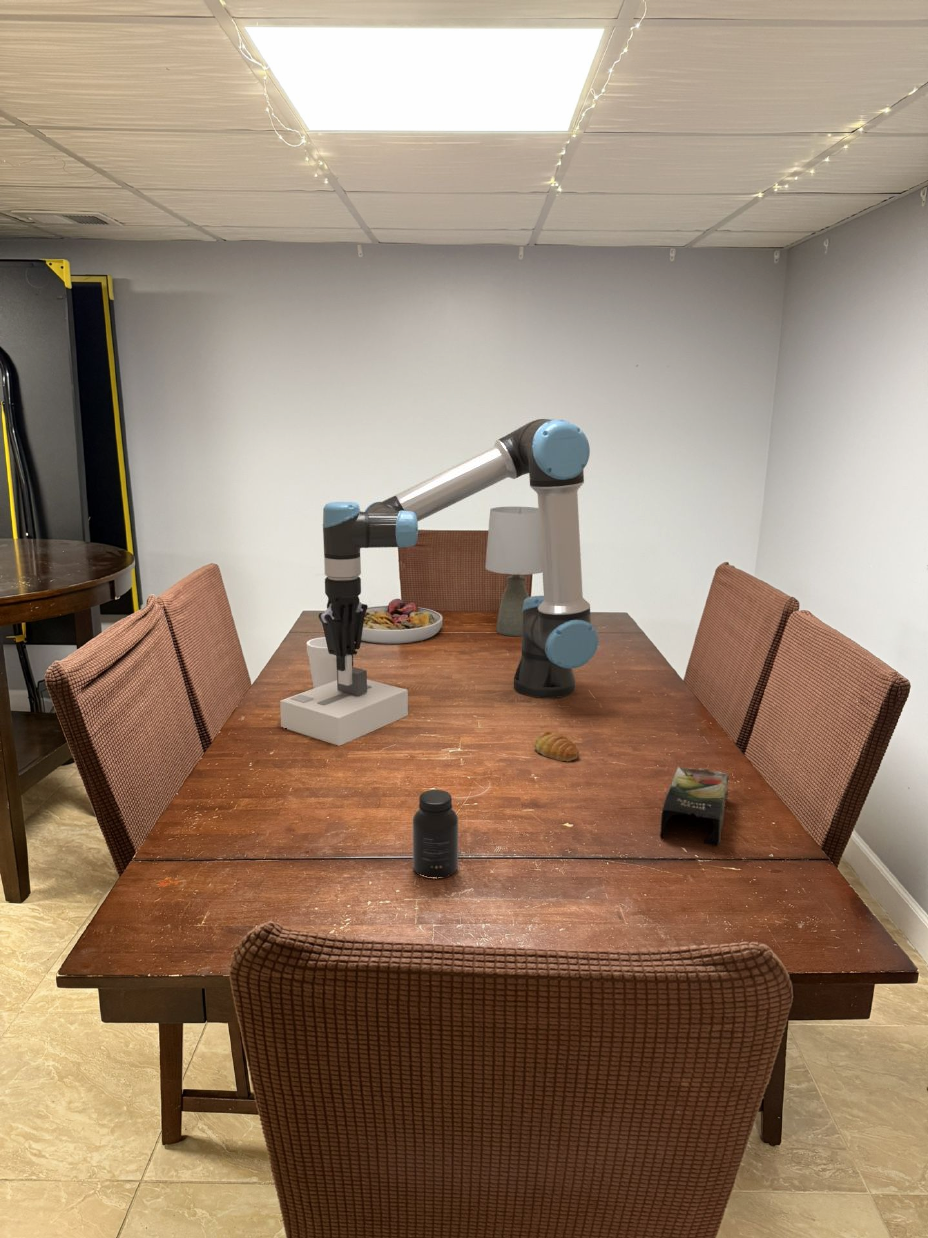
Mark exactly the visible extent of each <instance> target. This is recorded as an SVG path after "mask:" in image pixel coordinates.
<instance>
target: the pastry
mask: <svg viewBox="0 0 928 1238" xmlns="http://www.w3.org/2000/svg"><path fill="white" fill-rule="evenodd" d="M533 747H534V749H535V750H536V752H537V753H538V754H541V755H542V756H544V757H546V758H549V759H553V760H555V761H559V762H563V761H564V762H571V761H573V760H576V759H578V756H579V755H580V750H579V749H578V748H577V746H576V744H575V743H573V741H572V740H569V738H568V737H567V736H565V735H562V734H561V733H554V732H553V731H551V730H545V731H543V732H541V733H540V734H539V735H537V737H536V738H535V741H534V743H533Z"/></svg>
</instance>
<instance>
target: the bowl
mask: <svg viewBox="0 0 928 1238" xmlns="http://www.w3.org/2000/svg"><path fill="white" fill-rule="evenodd" d="M442 626H443V615H442V614H441V613H440V612H437V611H435V610H432V609H429V608H424V607H418V605H417V604H416V603H415V602H409V603H408V604H406V603H405V602H404V601H403V599H401V598H394V599H392V600H391V601H389V602H388V605H378V606H368V608H367V611H366V613H365V616H364V624H363V631H362V638H361V642H362V641H363V642H367V643H373V644H382V645H383V644H384V645H397V644H398V645H399V644H410V643H416V642H421V641H425V640H427V639H429V638H432V637H434V636H436V635H437V634H438V633H439V631H440V630H441V628H442Z"/></svg>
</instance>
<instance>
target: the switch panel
mask: <svg viewBox="0 0 928 1238" xmlns="http://www.w3.org/2000/svg"><path fill="white" fill-rule="evenodd" d="M408 694H409V690H408V689H405V688H401V687H398V686H393V685H391V684H387V683H382V682H378V681H374V680H371V679H367V692H366V693H364V694H361V695H359V696H356V695H353V694H349V693H346V692H342V691H338V690H337V680H336V681H334V682H331V683H328V684H325V685H322V686H320V687H317V688H314V687H313V688H311V689H309V690H306V691H303V692H300V693H298V694H295V695H292V696H289V697H286V698H284V699H281V700H279V705H280V706H279V707H280V710H279V711H280V727H281V728H282V727H283V729H285V728H287V729H286V730H288V731H292V732H295V733H298V734H301V735H304V736H307V737H310V738H314V739H317V740H320V741H322V742H326V743H329V744H332V745H335V746H338V747H340V746H342V745H345V744H347V743H349V742H351V741H354V740H356V739H358V738H360V737H363V736H365V735H367V734H369V733H372V732H375V731H376V730H378V729H380V728H383V727H385V726H387V725H389V724H392V723H395V722H396V721H398V720H401V719H404V718H405V717H408V715H409V699H408V698H409V695H408Z"/></svg>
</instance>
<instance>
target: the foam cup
mask: <svg viewBox="0 0 928 1238" xmlns="http://www.w3.org/2000/svg"><path fill="white" fill-rule="evenodd" d="M306 654H307V656H308V662H309V669H310V675H311V680H312V686H313V689H314V688H317V687H320V686H322V685H325V684H328V683H331V682H334V681H336V680H337V665H336V664H337V663H336V655H332V654H329V652H328V648H327V643H326V639H325V636H324V637H323V636H322V637H316V638H312V639H309V640H308V641H307V642H306Z"/></svg>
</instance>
